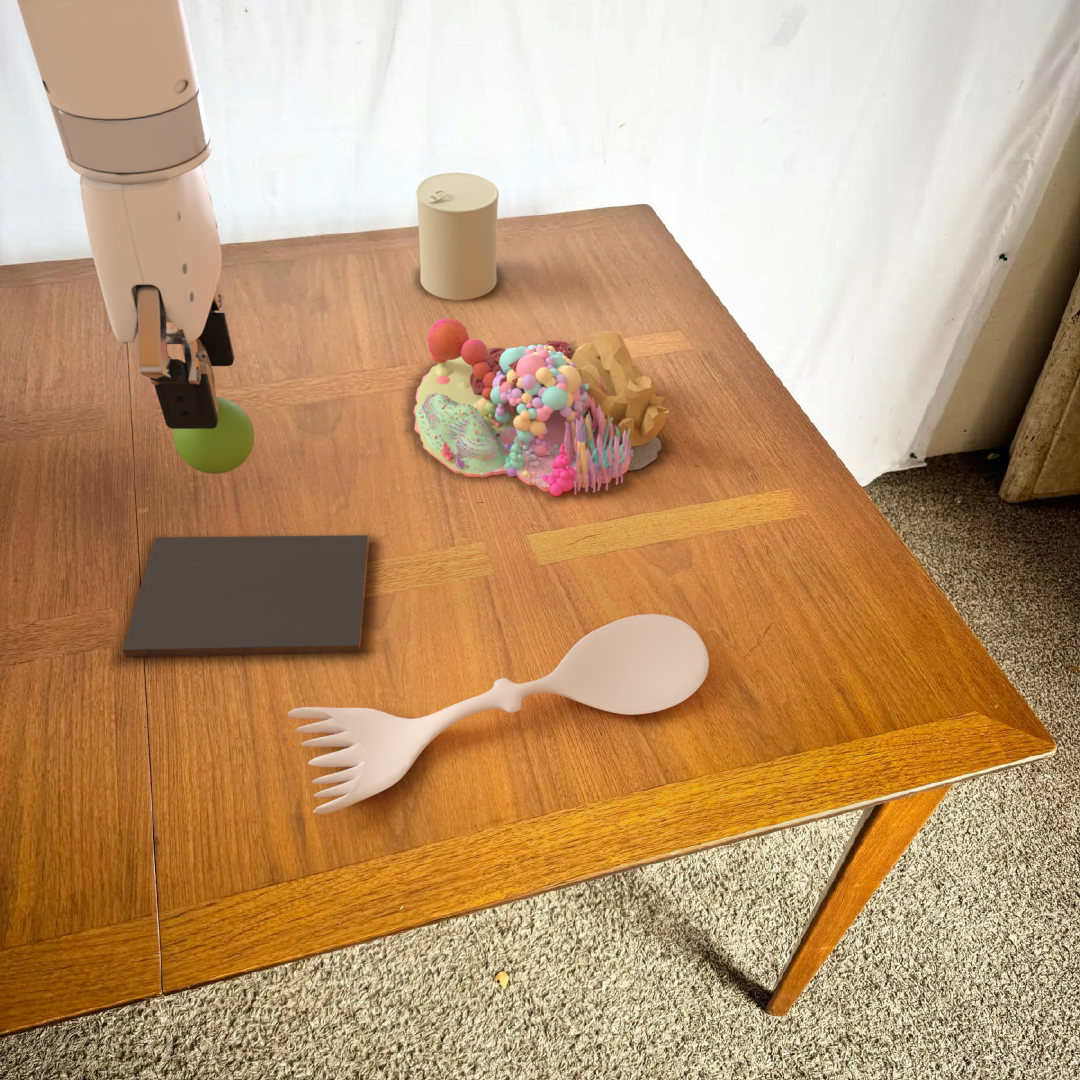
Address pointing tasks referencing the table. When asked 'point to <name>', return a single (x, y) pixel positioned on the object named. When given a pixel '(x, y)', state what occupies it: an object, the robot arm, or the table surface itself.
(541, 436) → the candy landscape model
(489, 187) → the can
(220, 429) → the apple with worm toy
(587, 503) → the table surface
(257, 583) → the slate board
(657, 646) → the spoon
